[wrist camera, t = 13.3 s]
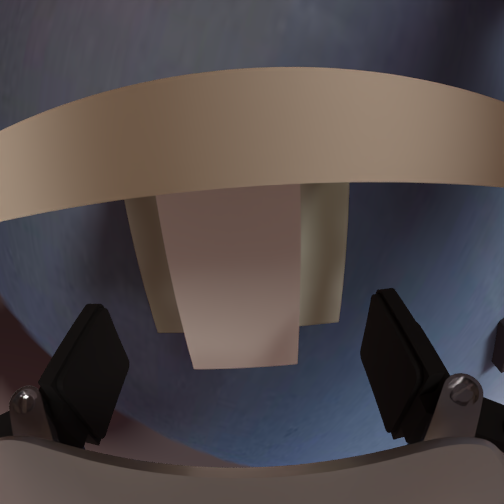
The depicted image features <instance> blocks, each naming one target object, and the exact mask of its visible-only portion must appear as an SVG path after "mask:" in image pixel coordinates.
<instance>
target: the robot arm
mask: <svg viewBox="0 0 504 504" xmlns="http://www.w3.org/2000/svg"><path fill="white" fill-rule="evenodd" d="M360 355H361V360H362V363H363V365H364V368H365V371H366V374H367V376H368V379H369V382H370V385H371V388H372V391H373V393H374V396H375V399H376V402H377V405H378V408H379V411H380V414H381V417H382V420H383V423H384V426H385V429H386V431H387V432H388V433H390V432H391V434H392V437H393V440H394V439H397V438H401V437H405V440H406V442H407V443H408V444H407V445H405V446H401V447H397V448H393V449H388V450H384V451H380V452H375V453H370V454H365V455H360V456H355V457H349V458H344V459H338V460H331V461H325V462H317V463H309V464H300V465H289V466H275V467H251V468H219V467H196V466H183V465H172V464H163V463H155V462H147V461H140V460H134V459H128V458H122V457H117V456H112V455H107V454H102V453H98V452H94V451H89V450H85V447H84V445H85V442H87V443H91V444H95V445H99V444H100V441H101V439H103V438H104V437H105V435H106V432H107V429H108V426H109V423H110V420H111V417H112V414H113V411H114V408H115V405H116V402H117V400H118V397H119V394H120V391H121V388H122V386H123V383H124V380H125V377H126V375H127V372H128V369H129V360H128V357H127V355H126V353H125V350H124V348H123V346H122V344H121V341H120V339H119V337H118V334H117V332H116V329H115V327H114V324H113V322H112V319H111V317H110V314H109V312H108V310H107V309H106V308H104V306H103V305H102V304H87V305H86V306H85V307H84V309H83V310H82V312H81V313H80V315H79V316H78V318H77V319H76V321H75V322H74V324H73V325H72V327H71V328H70V330H69V331H68V333H67V335H66V336H65V338H64V339H63V341H62V342H61V344H60V346H59V347H58V349H57V351H56V352H55V354H54V356H53V357H52V359H51V361H50V362H49V364H48V366H47V368H46V369H45V371H44V373H43V374H42V376H41V378H40V380H39V381H38V383H39V385H40V386H41V387H40V389H39V390H38V389H37V388H36V387H33V386H25V387H22V388H20V389H18V390H17V391H16V392H15V393H14V394H13V396H12V397H11V399H10V402H9V411H8V412H6V413H4V414H2V415H0V504H504V405H502V404H500V403H497V402H494V401H492V400H489V399H487V398H484V397H483V389H482V386H481V385H480V383H479V382H478V381H477V380H476V379H475V378H474V377H472V376H470V375H468V374H463V373H459V374H454V375H451V376H450V375H449V373H448V371H447V369H446V368H445V366H444V364H443V363H442V361H441V359H440V357H439V356H438V354H437V352H436V351H435V349H434V347H433V346H432V344H431V342H430V341H429V339H428V338H427V336H426V334H425V333H424V331H423V330H422V328H421V326H420V325H419V324H418V323H417V322H416V321H415V319H414V318H413V316H412V315H411V313H410V312H409V310H408V309H407V307H406V306H405V304H404V303H403V301H402V300H401V298H400V297H399V295H398V294H397V292H396V291H395V289H394V288H389V289H380V290H377V292H376V294H373V295H372V297H371V302H370V307H369V312H368V318H367V323H366V327H365V332H364V337H363V341H362V346H361V351H360Z"/></svg>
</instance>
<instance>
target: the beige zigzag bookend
mask: <svg viewBox="0 0 504 504" xmlns="http://www.w3.org/2000/svg"><path fill="white" fill-rule="evenodd" d="M349 182H413V183H444V184H464V185H480V186H493V187H504V102H502V101H499V100H497V99H494V98H491V97H487V96H484V95H481V94H478V93H475V92H471V91H468V90H464V89H460V88H457V87H453V86H449V85H444V84H440V83H436V82H431V81H426V80H421V79H416V78H411V77H405V76H399V75H393V74H386V73H378V72H370V71H361V70H350V69H337V68H317V67H266V68H246V69H232V70H221V71H212V72H203V73H196V74H188V75H182V76H176V77H170V78H164V79H159V80H153V81H148V82H144V83H139V84H135V85H130V86H126V87H122V88H118V89H114V90H110V91H107V92H103V93H99V94H96V95H92V96H89V97H86V98H83V99H79V100H76V101H73V102H70V103H67V104H64V105H62V106H59V107H56V108H53V109H51V110H48V111H45V112H43V113H40V114H38V115H35V116H33V117H30V118H28V119H26V120H23V121H21V122H19V123H16V124H14V125H12V126H10V127H8V128H6V129H3V130H1V131H0V222H1V221H5V220H10V219H15V218H19V217H24V216H29V215H34V214H39V213H44V212H50V211H55V210H60V209H66V208H72V207H78V206H84V205H90V204H96V203H103V202H110V201H117V200H124V201H125V206H126V211H127V216H128V221H129V226H130V230H131V235H132V239H133V244H134V248H135V252H136V256H137V260H138V264H139V268H140V272H141V276H142V280H143V284H144V287H145V291H146V294H147V298H148V302H149V305H150V308H151V312H152V315H153V318H154V322H155V325H156V328H157V331H158V333H184V330H183V327H182V323H181V319H180V314H179V310H178V306H177V302H176V298H175V293H174V289H173V284H172V280H171V275H170V271H169V266H168V261H167V256H166V251H165V246H164V241H163V236H162V230H161V225H160V219H159V213H158V207H157V201H156V195H163V194H172V193H181V192H191V191H201V190H212V189H223V188H236V187H250V186H265V185H283V184H300V196H301V272H300V314H299V326H305V325H315V324H325V323H334V322H339V315H340V307H341V298H342V289H343V279H344V268H345V256H346V243H347V227H348V207H349Z"/></svg>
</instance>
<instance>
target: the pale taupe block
mask: <svg viewBox="0 0 504 504" xmlns="http://www.w3.org/2000/svg"><path fill="white" fill-rule="evenodd" d="M156 201H157V207H158V213H159V219H160V225H161V230H162V236H163V241H164V246H165V251H166V256H167V261H168V266H169V271H170V275H171V280H172V284H173V289H174V293H175V298H176V302H177V306H178V310H179V314H180V319H181V323H182V327H183V330H184V334H185V338H186V342H187V346H188V349H189V353H190V357H191V360H192V364H193V367H194V369H230V368H251V367H267V366H280V365H292V364H297V362H298V341H299V314H300V272H301V196H300V184H283V185H265V186H250V187H236V188H223V189H212V190H201V191H191V192H181V193H172V194H163V195H156Z"/></svg>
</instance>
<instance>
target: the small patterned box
mask: <svg viewBox="0 0 504 504" xmlns="http://www.w3.org/2000/svg"><path fill="white" fill-rule="evenodd" d="M492 362H493V363H494V365H495V366H496V367H497V368H498V370H499V371H500V372H501V373H502V372H504V318H503V319H502V320H500V321H499V323H498V328H497V335H496V341H495V347H494V352H493V357H492Z"/></svg>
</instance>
